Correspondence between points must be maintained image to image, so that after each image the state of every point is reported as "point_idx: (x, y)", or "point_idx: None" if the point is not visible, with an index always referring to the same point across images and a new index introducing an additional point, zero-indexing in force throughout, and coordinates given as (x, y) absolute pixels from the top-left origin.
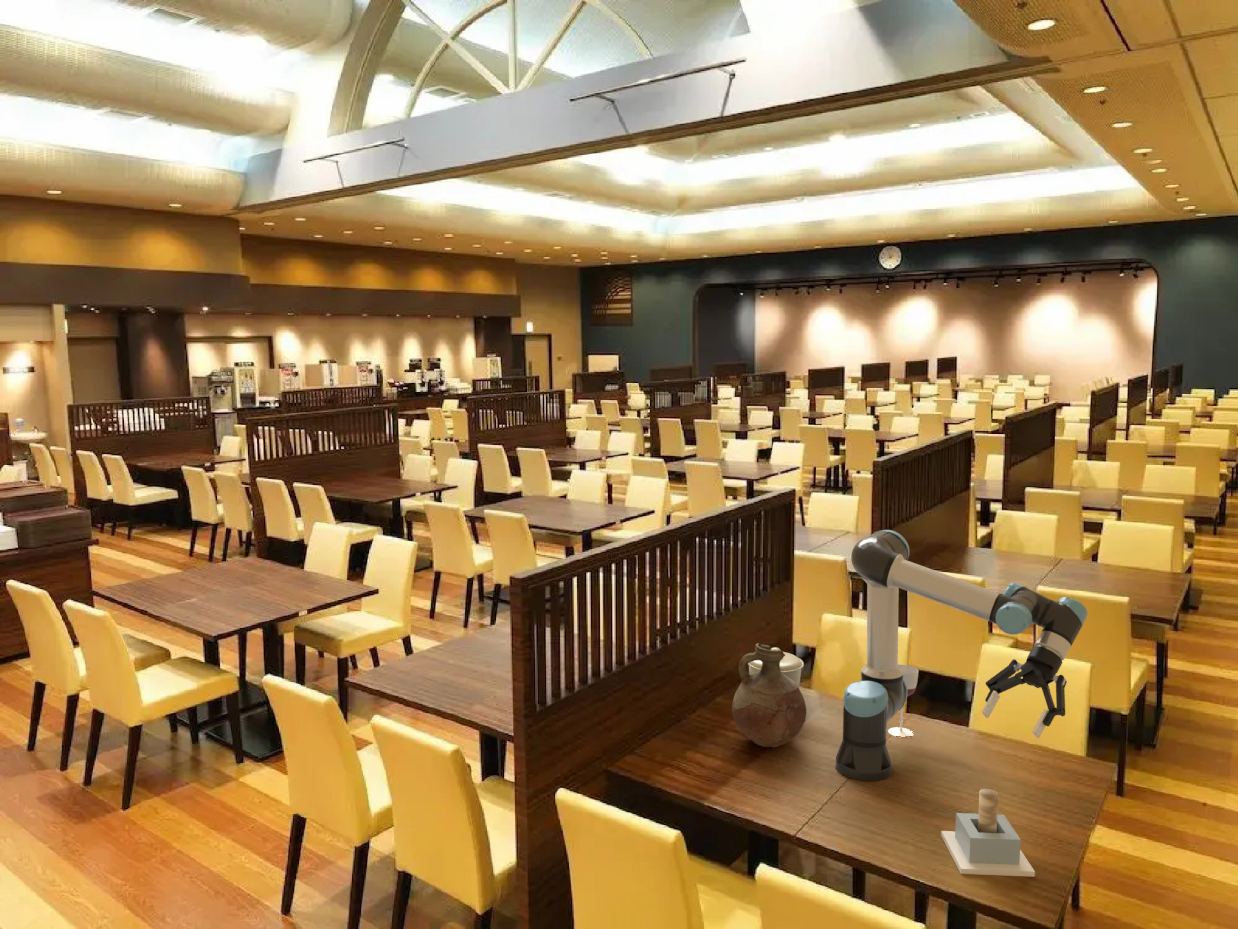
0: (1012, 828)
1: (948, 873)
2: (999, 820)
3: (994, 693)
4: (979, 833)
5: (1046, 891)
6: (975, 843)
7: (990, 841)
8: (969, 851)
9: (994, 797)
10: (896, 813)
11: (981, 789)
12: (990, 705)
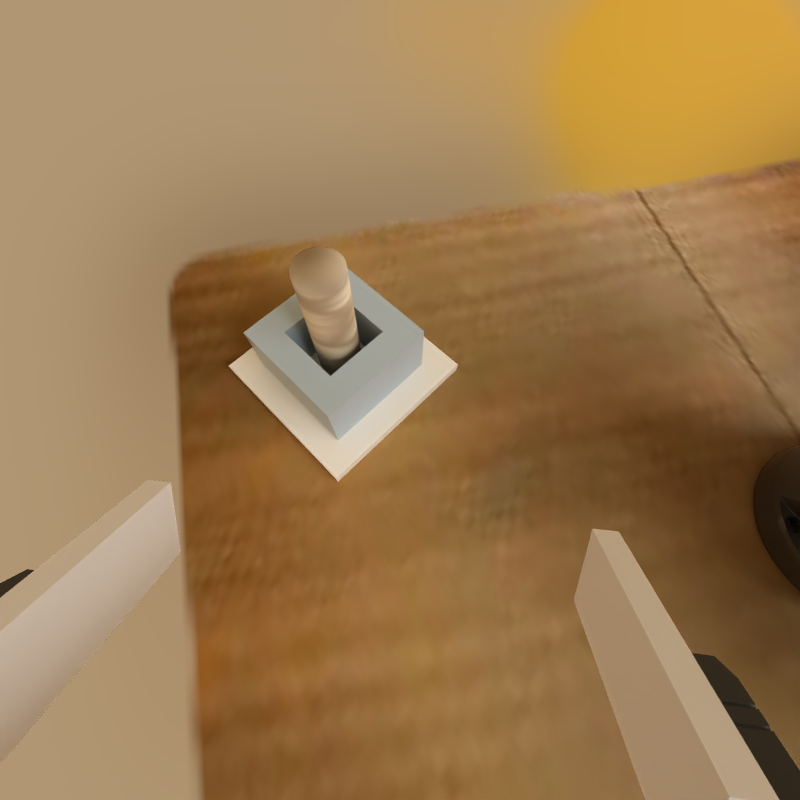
0: (279, 365)
1: (367, 268)
2: (322, 377)
3: (711, 745)
4: None
5: (198, 343)
6: None
7: None
8: None
9: (293, 259)
10: (586, 379)
11: (345, 271)
12: (622, 628)
